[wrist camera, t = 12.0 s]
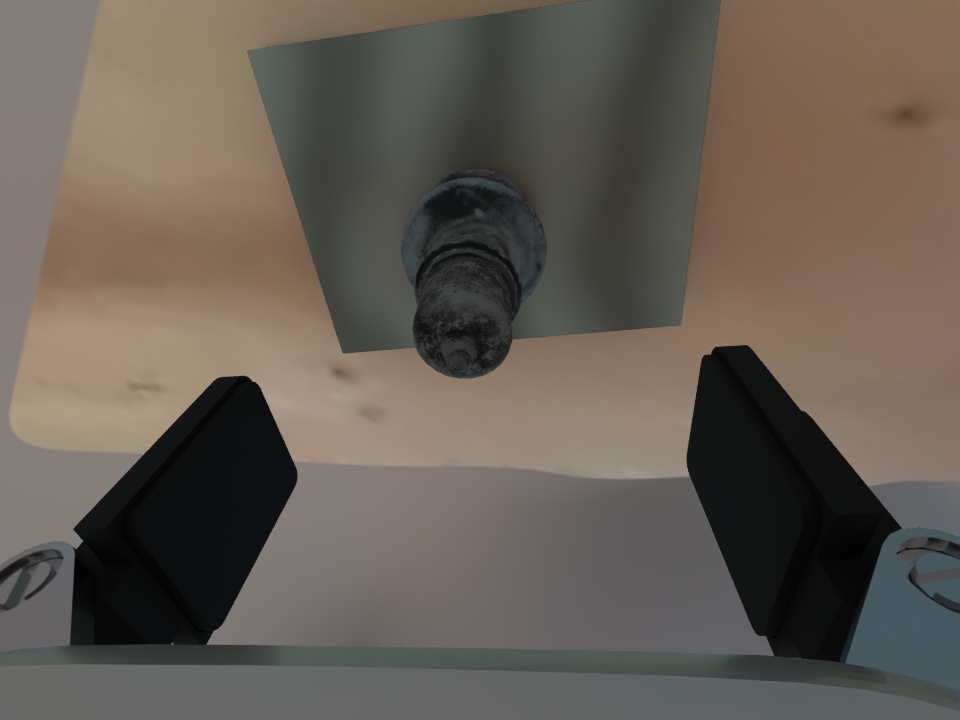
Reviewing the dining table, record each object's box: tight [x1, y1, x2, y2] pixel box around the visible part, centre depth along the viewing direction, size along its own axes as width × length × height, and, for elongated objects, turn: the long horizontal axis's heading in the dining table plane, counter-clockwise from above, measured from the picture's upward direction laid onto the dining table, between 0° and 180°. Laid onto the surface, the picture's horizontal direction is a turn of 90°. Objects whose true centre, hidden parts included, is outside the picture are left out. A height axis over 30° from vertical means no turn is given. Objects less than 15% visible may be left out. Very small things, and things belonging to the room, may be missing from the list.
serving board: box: [247, 0, 721, 353], centre depth 22 cm, size 18×14×2 cm
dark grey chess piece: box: [400, 169, 547, 378], centre depth 17 cm, size 6×6×12 cm
